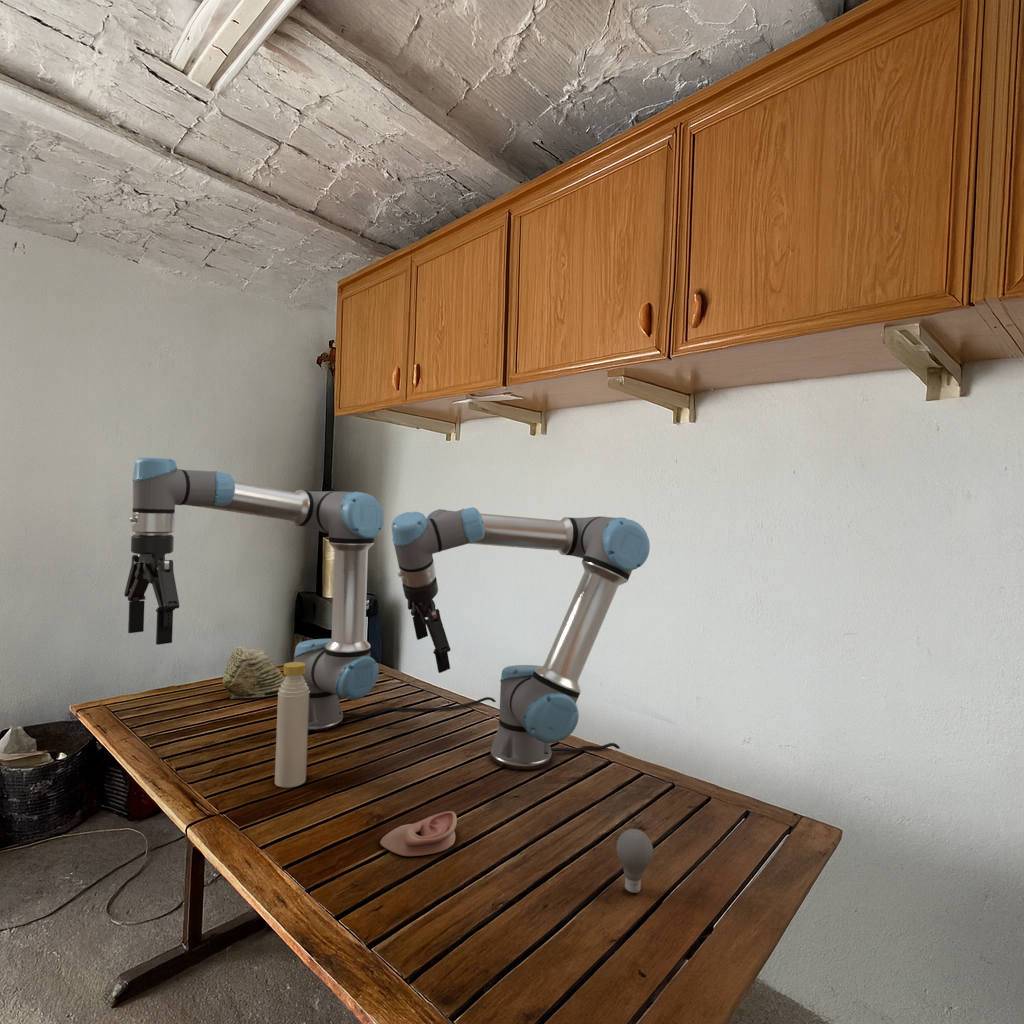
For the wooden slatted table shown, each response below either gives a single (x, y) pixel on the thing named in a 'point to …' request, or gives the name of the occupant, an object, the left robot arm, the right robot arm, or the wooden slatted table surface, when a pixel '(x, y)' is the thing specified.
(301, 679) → the bottle
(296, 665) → the cap
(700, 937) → the wooden slatted table surface
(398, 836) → the anatomical model
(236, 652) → the fossil
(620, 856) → the light bulb
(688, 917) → the wooden slatted table surface
